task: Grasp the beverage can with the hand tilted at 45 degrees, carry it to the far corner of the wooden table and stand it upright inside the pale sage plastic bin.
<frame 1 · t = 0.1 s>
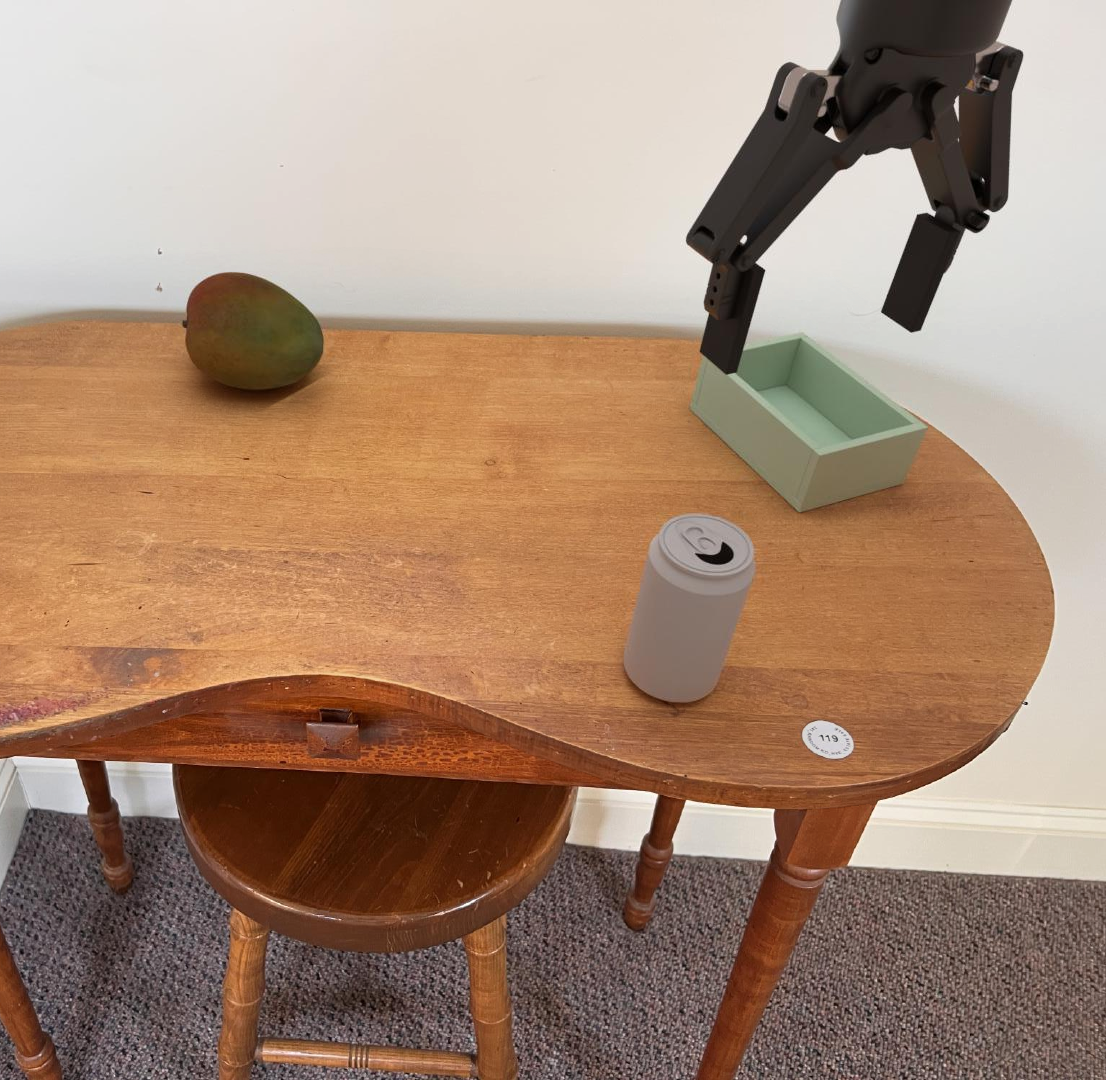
hand: (811, 341, 63), 21 cm above the table, tool pointing down, fingers open, 13 cm apart
bin: (791, 444, 90), on the table
fruit: (257, 378, 97), on the table
beverage can: (667, 674, 70), on the table
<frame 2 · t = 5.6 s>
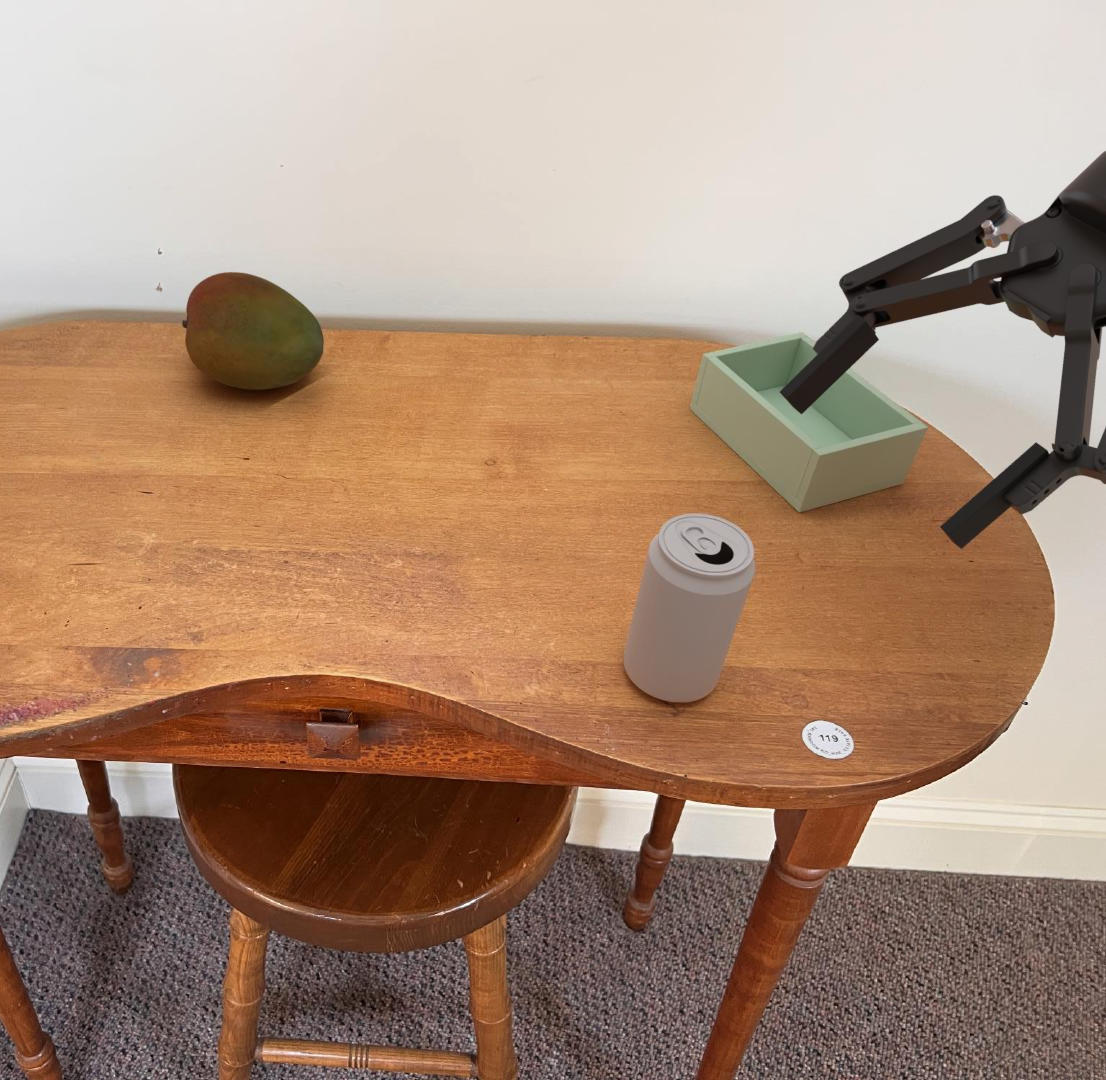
hand: (864, 466, 63), 15 cm above the table, tool tilted 45°, fingers open, 13 cm apart
nothing on the table moved.
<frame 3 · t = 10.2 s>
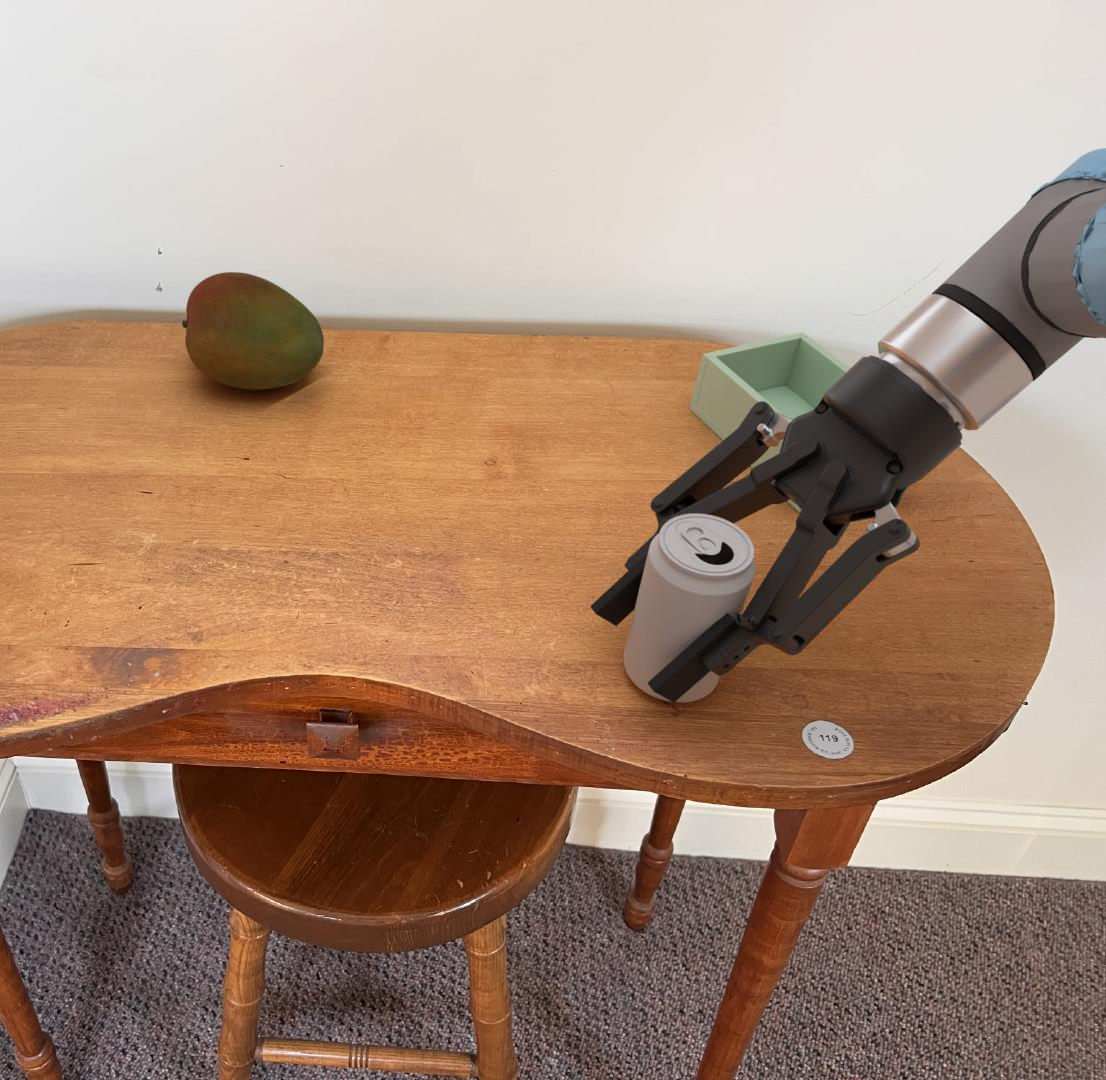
hand: (631, 652, 67), 3 cm above the table, tool tilted 45°, fingers closed on beverage can, 6 cm apart
beverage can: (667, 674, 70), on the table, touching gripper
everything else where it was.
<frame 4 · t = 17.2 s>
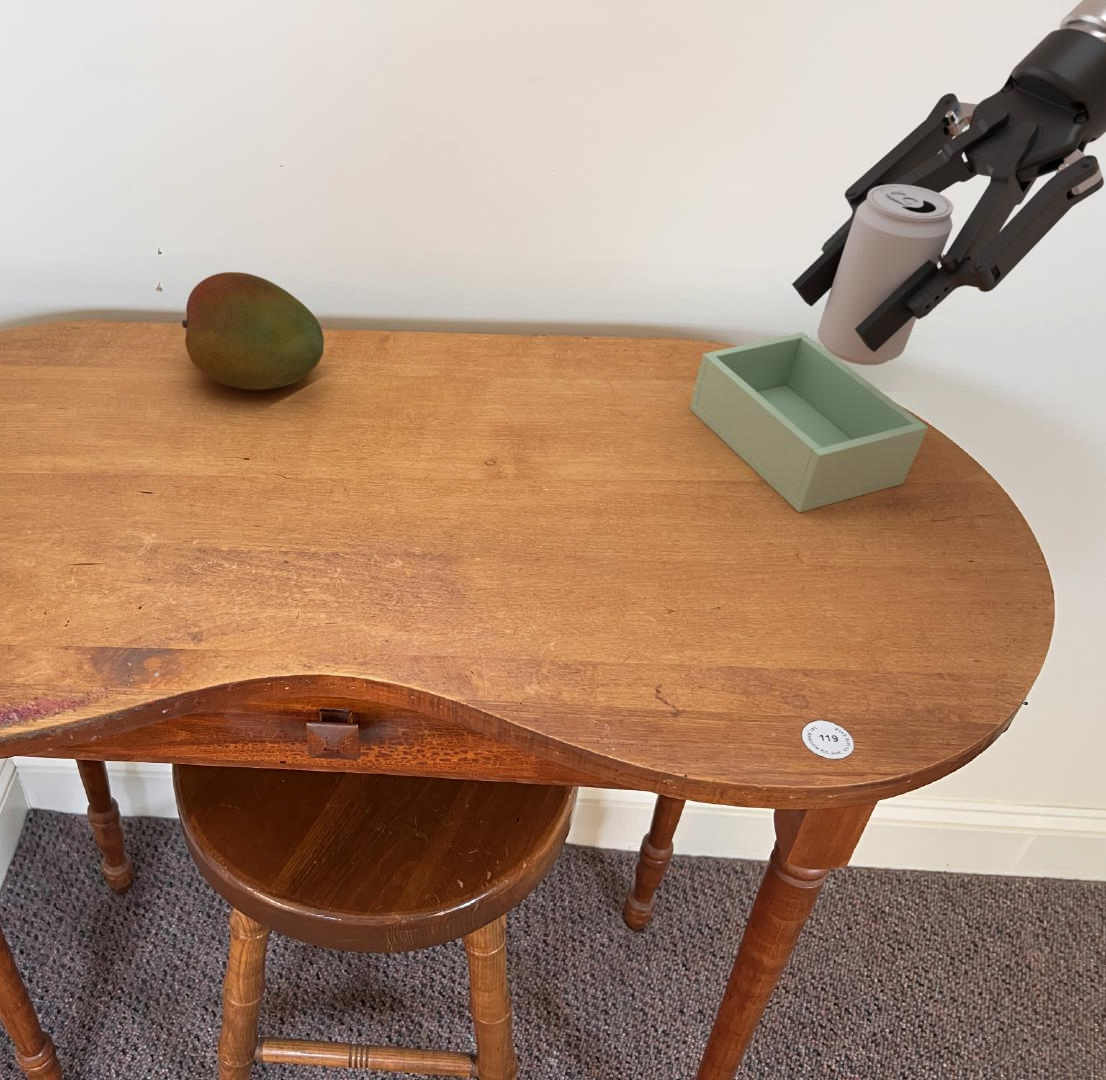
hand: (832, 317, 77), 15 cm above the table, tool tilted 45°, fingers closed on beverage can, 6 cm apart
beverage can: (856, 350, 80), point 11 cm above the table, touching gripper
everything else where it was.
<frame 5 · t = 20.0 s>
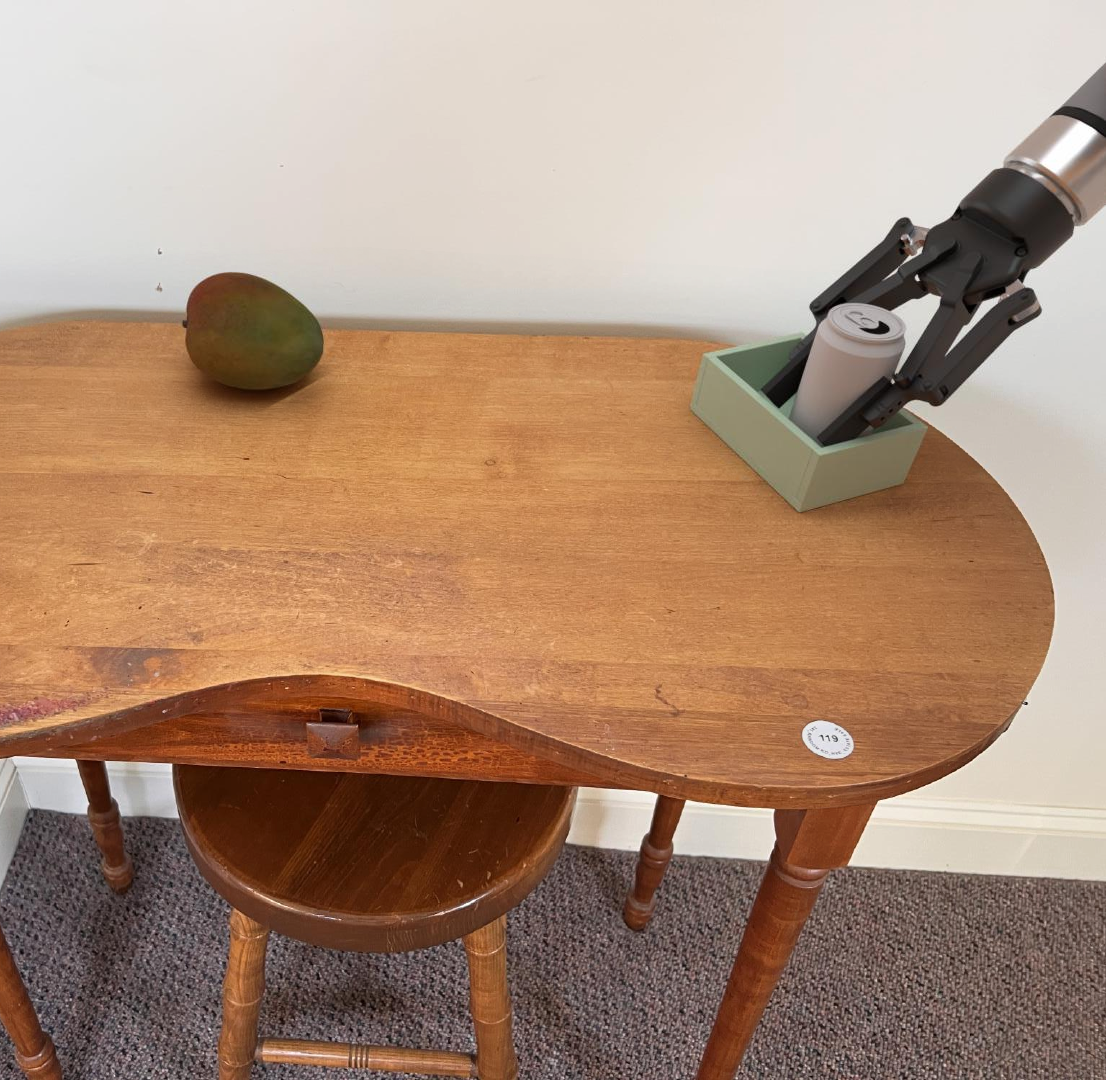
hand: (797, 422, 83), 5 cm above the table, tool tilted 45°, fingers closed on beverage can, 6 cm apart
beverage can: (820, 448, 86), point 2 cm above the table, touching gripper
everything else where it was.
when the fingers open (6 cm above the table, at t = 24.3 s): beverage can drops 1 cm, resting on bin.
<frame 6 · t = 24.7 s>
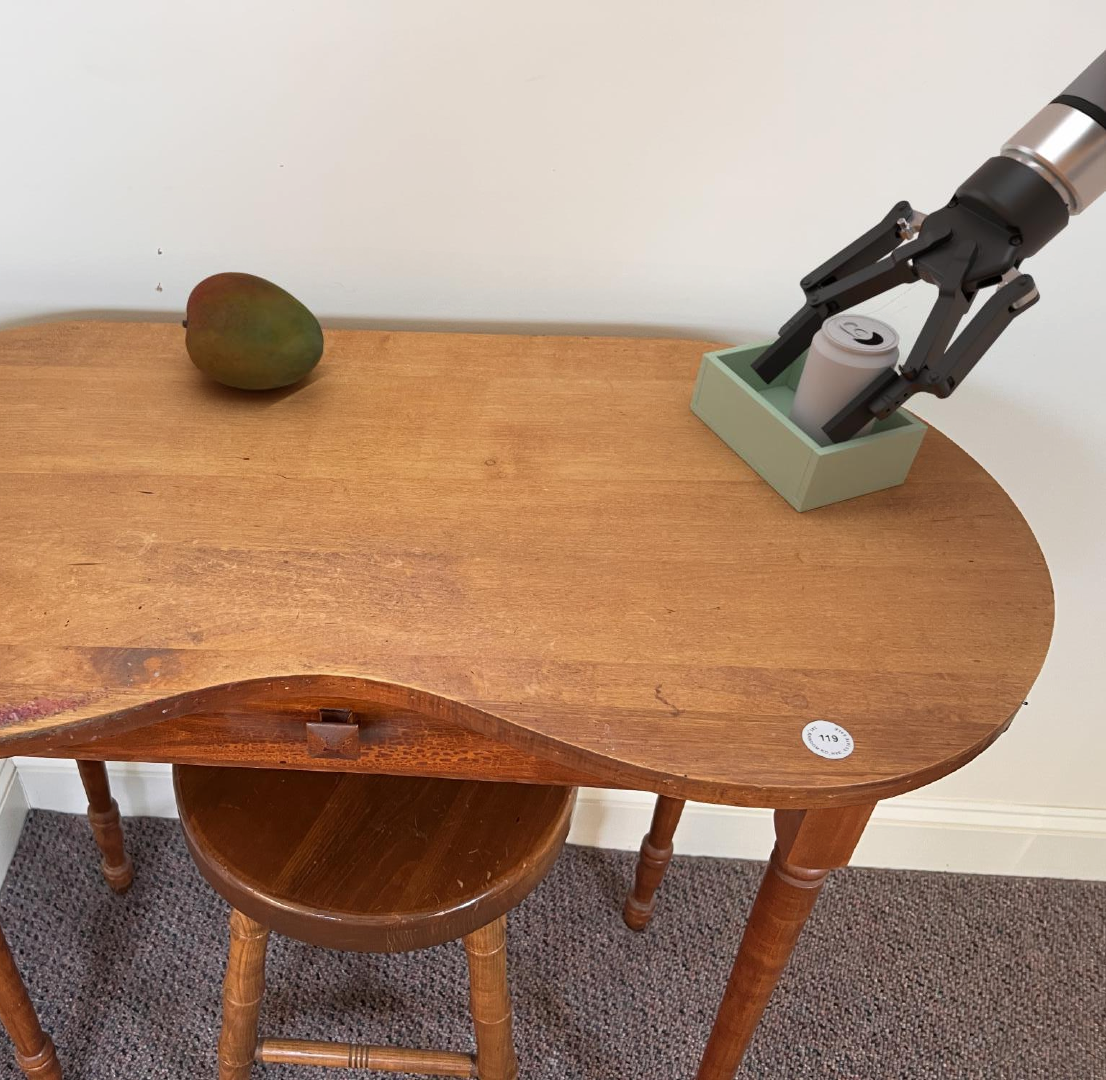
hand: (793, 405, 83), 6 cm above the table, tool tilted 45°, fingers open, 8 cm apart
beverage can: (816, 458, 87), point 1 cm above the table, touching bin
everything else where it was.
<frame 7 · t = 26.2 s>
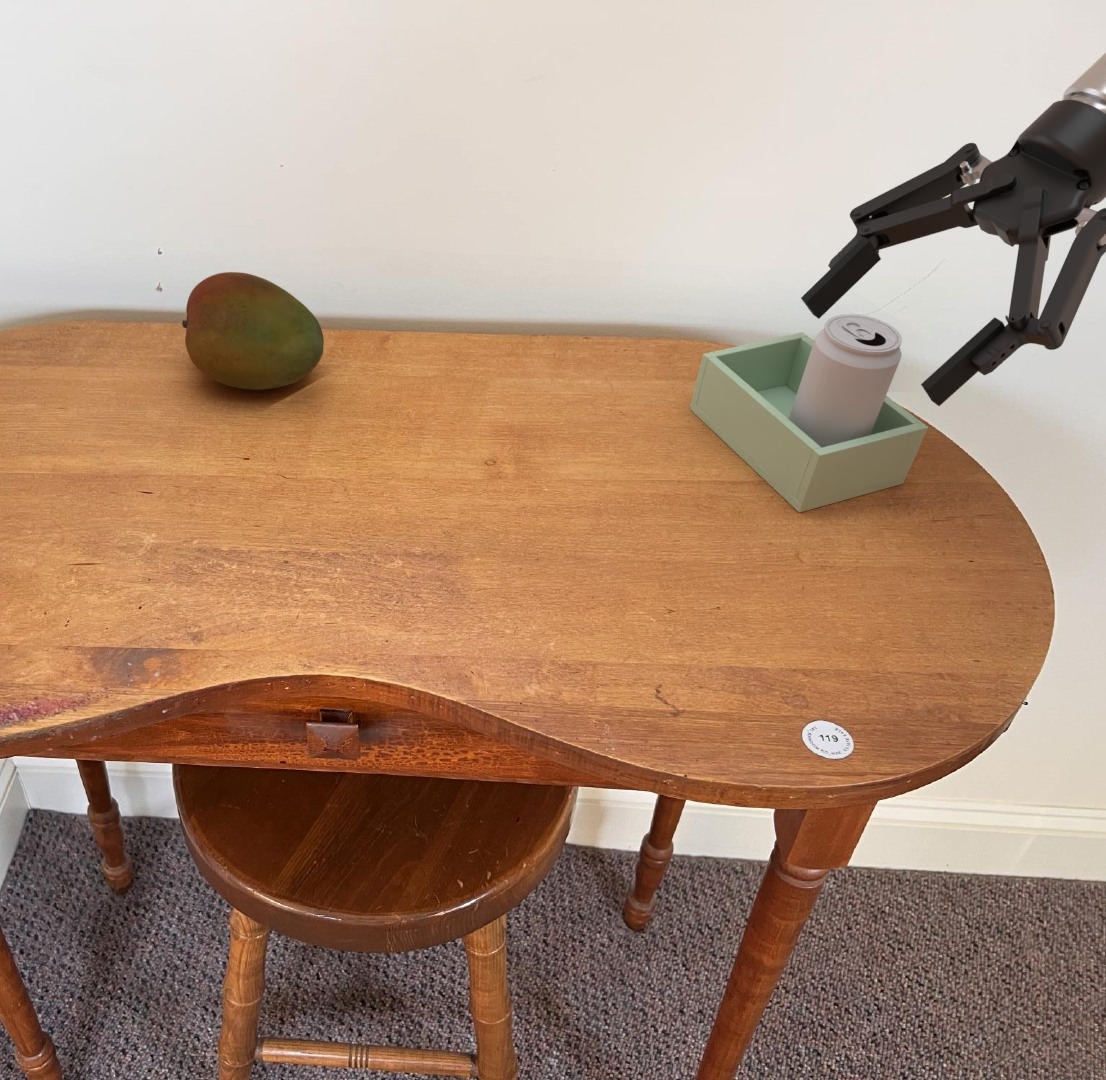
hand: (865, 350, 80), 11 cm above the table, tool tilted 45°, fingers open, 13 cm apart
nothing on the table moved.
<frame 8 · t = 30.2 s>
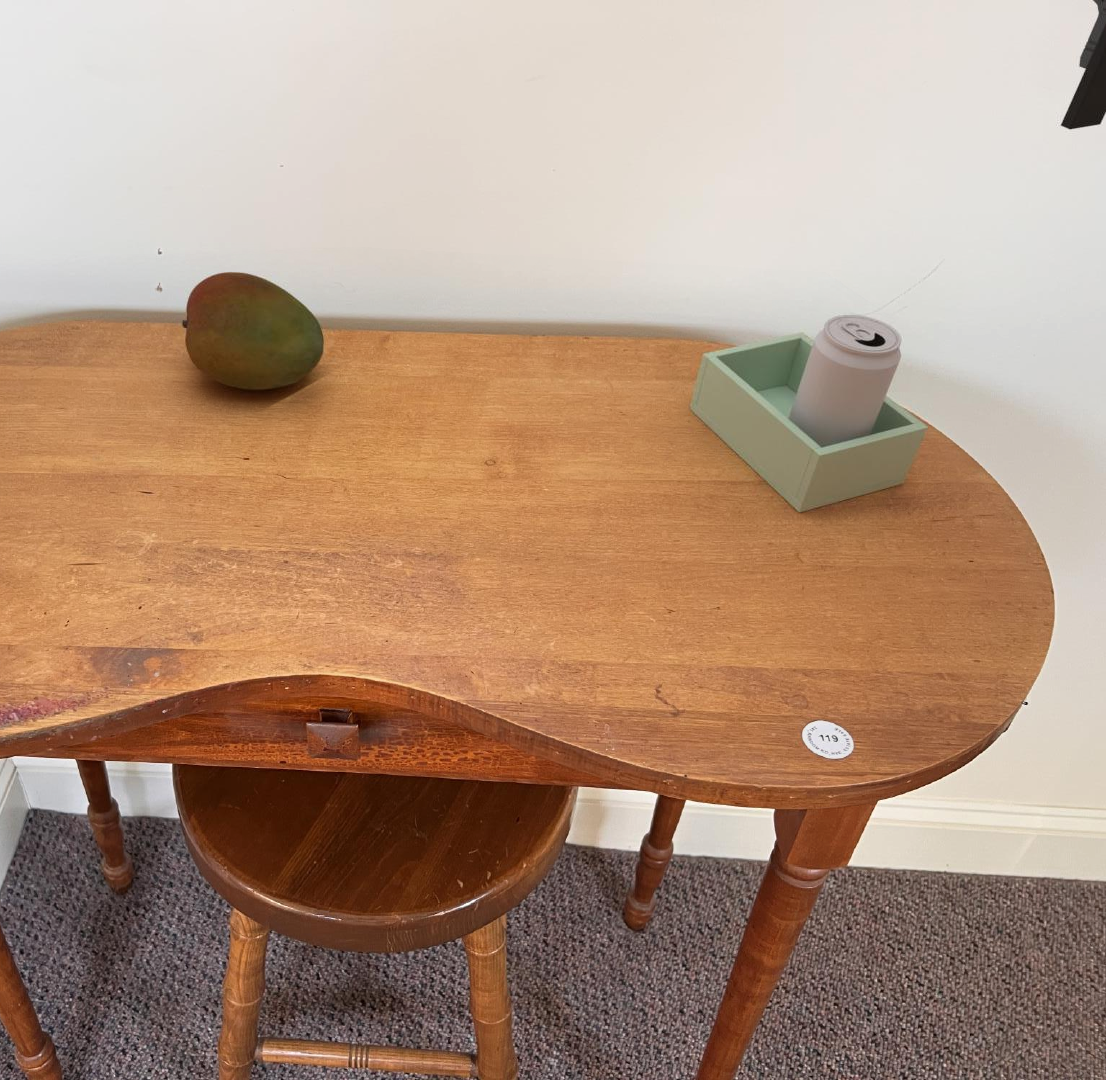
nothing on the table moved.
at the end: beverage can inside the target area in the bin (3.0 cm from its centre), point 0.6 cm above the bin's base; beverage can tilted 0°; the gripper is holding nothing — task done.
